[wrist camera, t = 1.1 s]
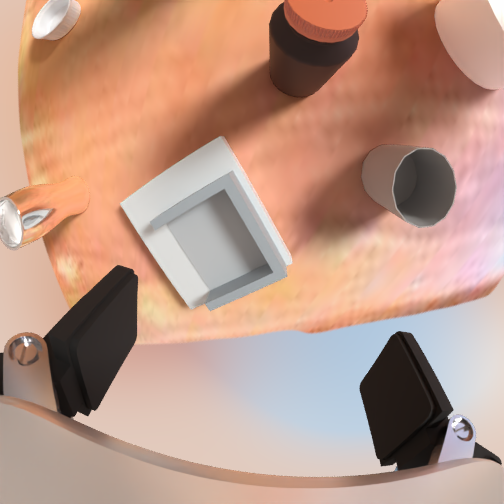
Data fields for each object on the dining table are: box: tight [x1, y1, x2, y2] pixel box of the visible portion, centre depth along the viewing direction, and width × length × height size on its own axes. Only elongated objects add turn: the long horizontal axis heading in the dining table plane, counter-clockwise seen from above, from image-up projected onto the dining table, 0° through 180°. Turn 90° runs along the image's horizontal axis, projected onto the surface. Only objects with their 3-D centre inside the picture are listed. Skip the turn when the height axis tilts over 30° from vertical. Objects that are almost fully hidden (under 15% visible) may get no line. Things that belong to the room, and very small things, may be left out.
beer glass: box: [0, 176, 90, 250], centre depth 29 cm, size 7×7×15 cm
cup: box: [361, 145, 457, 228], centre depth 28 cm, size 8×8×10 cm
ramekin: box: [32, 0, 81, 40], centre depth 22 cm, size 9×9×4 cm
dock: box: [120, 136, 292, 311], centre depth 34 cm, size 18×16×6 cm
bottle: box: [269, 0, 368, 97], centre depth 19 cm, size 7×7×20 cm
